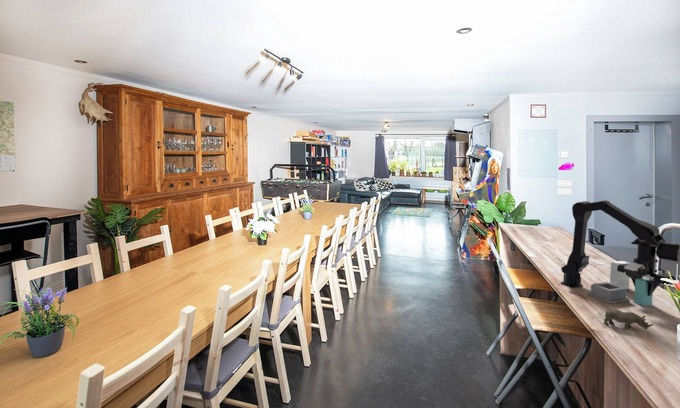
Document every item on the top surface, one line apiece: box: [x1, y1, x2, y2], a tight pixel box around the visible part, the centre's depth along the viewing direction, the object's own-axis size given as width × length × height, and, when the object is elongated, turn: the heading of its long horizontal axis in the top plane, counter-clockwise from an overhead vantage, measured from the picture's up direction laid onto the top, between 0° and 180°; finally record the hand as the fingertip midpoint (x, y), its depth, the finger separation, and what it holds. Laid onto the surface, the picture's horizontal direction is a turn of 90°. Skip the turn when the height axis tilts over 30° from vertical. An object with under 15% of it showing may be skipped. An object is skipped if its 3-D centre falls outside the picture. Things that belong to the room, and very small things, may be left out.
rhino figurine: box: [603, 308, 654, 331], centre depth 126 cm, size 4×14×6 cm, turn 55°
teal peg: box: [633, 277, 654, 307], centre depth 145 cm, size 4×4×10 cm
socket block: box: [587, 281, 630, 304], centre depth 153 cm, size 10×10×5 cm
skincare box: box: [609, 260, 631, 289], centre depth 163 cm, size 6×4×12 cm
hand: (643, 293), depth 146 cm, fingers closed on teal peg, 4 cm apart
